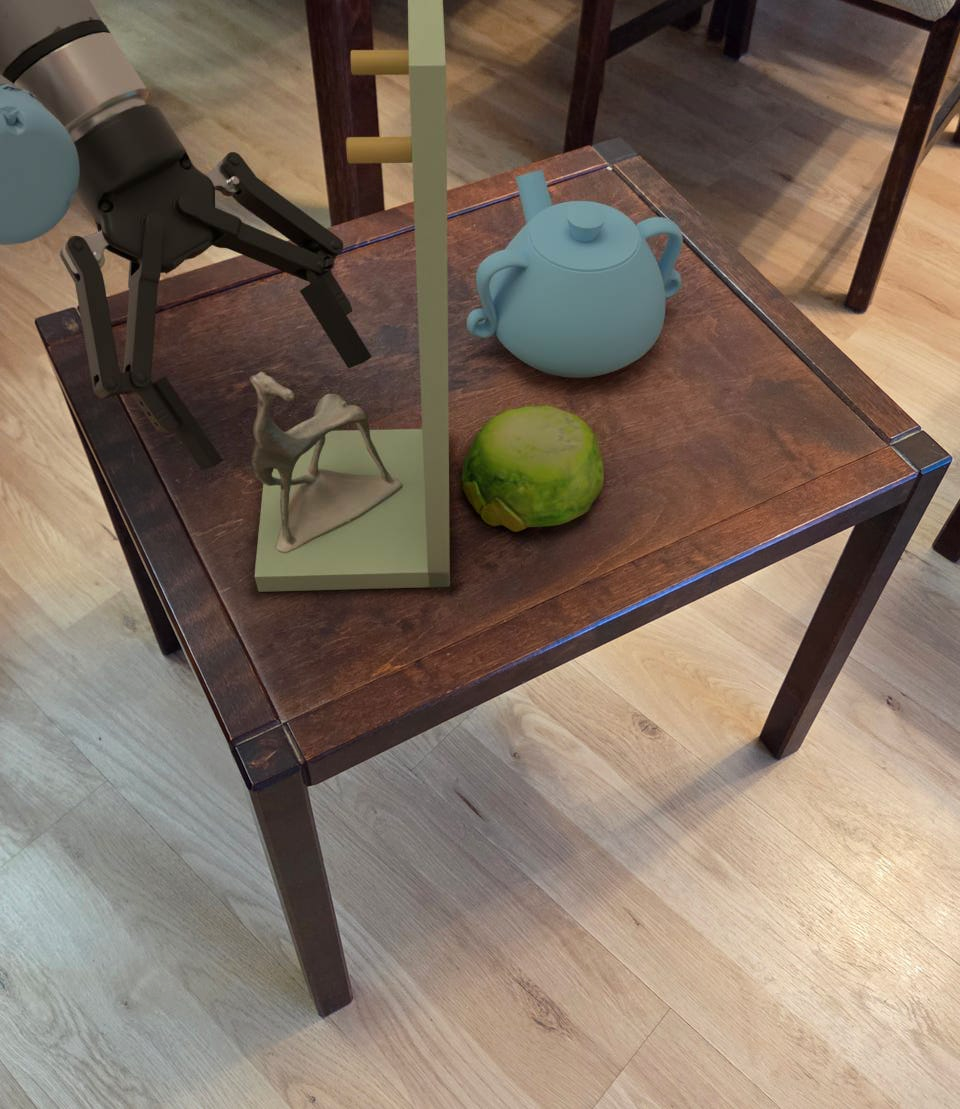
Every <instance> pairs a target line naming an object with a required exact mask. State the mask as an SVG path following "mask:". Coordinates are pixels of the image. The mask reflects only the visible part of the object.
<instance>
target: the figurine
mask: <svg viewBox="0 0 960 1109" xmlns="http://www.w3.org/2000/svg"><path fill="white" fill-rule="evenodd" d="M249 381H250V383H251V385H252V386H253V388H254V390H255V393H256V398H257V412H256V417H255V420H254V423H253V426H252V434H253V438H254V441H255V443H254V448H253V451H252V456H251V468H252V469H251V470H252V471H253V474H254V476H255V478H256V479H257V480H258V481H259V482H260V483H262V485H263V484H265V485H268V486H274V485H279V486H281V487H280V488H281V491H280V495H281V497H280V508H281V518H282V524H281V528H280V532H279V535H278V540H277V543H276V545H275V549H276V550H277V551H279V552H281V553H289V552H291V551H293V550H295V549H297V548H299V547H301V546H303V545H305V544H307V543H308V542H310V541H312V540H314V539H316V538H318V537H320V536H322V535H325V534H327V533H329V532H331V531H333V530H335V529H338V528H340V527H342V526H344V525H346V524H348V523H350V522H352V521H354V520H356V519H357V518H359V517H361V516H363V515H364V514H366V513H367V512H369V511H370V510H372V509H373V508H375V507H376V506H378V505H379V504H381V503H382V502H384V501H385V500H386V499H388V498H390V497H391V496H392V495H394V494H395V493H396V492H398V491H399V490H400V489H401V488H402V487H403V485H402V483H401V482H400V481H399V480H398V479H397V478H395V477H393V476H390V474H389V473H388V472H387V470H386V469H385V467H384V465H383V463H382V461H381V459H380V457H379V455H378V453H377V451H376V448H375V446H374V445H373V443H372V441H371V438H370V430H371V429H370V424H369V418H368V415H367V413H366V412H365V410H364V409H363V408H362V407H360V406H358V405H356V404H348V402H347V401H346V400H344V398H343V397H342V396H341V395H339V394H337V393H328V394H325V395H323V396H322V397H321V398H320V399H319V401H317V402H318V403H317V404H316V406H315V409H314V412H313V417H310V418H309V419H306V420H304V421H301V422H300V423H298V424H296V425H294V426H293V427H291V428H289V429H288V430H287V431H284V430H283V429H281V428H280V427H279V425H277V423H275V421H273V419H272V415H271V412H270V407H271V404H272V402H273V401H274V400H275V398H276V397H280V398H282V400H284V401H286V402H293V400H294V399H295V393H294V391H293V390H291V389H290V388H288V387H286V386H283V385H281V384H280V383H278V382H277V381H276V379H275V378H274V377H272V376H271V375H267V373H266V371H263V370H262V371H259V372H258V373H256V374H254V375H253V374H252V375H250V377H249ZM353 424H355V425H356V426H357V428H358V430H360V432H361V434H362V437H363V439H364V441H365V444H366V447H367V450H368V452H369V453H370V455H371V457H372V458H373V460H374V461H375V463H376V464H377V466H378V468H379V469H380V472H381V475H382V476H381V475H355V474H346V473H339V472H334V471H329V470H325V469H318V461H319V457H320V453H321V451H322V448H323V446H324V443H325V435H326V434H327V433H328V432H330V431H336V430H337V429H340V428H341V427H344V426H347V425H353ZM314 445H315V449H314V453H313V456H312V459H311V463H310V467H309V468H306V469H305V470H304V471H303V473H302V475H301V477H298V478H296V479H291V478H292V473H293V469H294V467H295V464H296V462H297V461H298V459H299V458H300V456H302V455H303V454H304V453H306V452H307V451H308V450H310V449H311V448H312V447H313V446H314ZM274 469H277V470H278V472H279V474H280V478H281V479H278V478H274V477H273V476H272V472H273V470H274ZM291 485H297V487H296V489H295V491H294V493H293V495H292V498H291V500H290V502H289V493H290V487H291Z"/></svg>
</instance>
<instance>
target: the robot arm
mask: <svg viewBox="0 0 960 1109" xmlns="http://www.w3.org/2000/svg"><path fill="white" fill-rule="evenodd" d="M149 93H150V91H149V89H148V88H147V87H146V85H145V83H144V81H143V80H142V78H141V77H140V76H139V74H138V73H137V71H136V70H135V68H134V66H133V64H132V63H131V62H130V59H129V58H128V57H127V55H126V54H125V52H124V50H123V49H122V47H121V46H120V44H119V43H118V41H117V39H115V36H114V35H113V34H112V32H111V31H110V29H109V28H108V27H107V25H106V24H105V22H103V20H102V18H101V16H100V15H99V13H98V11H97V10H96V8H95V6H94V5H93V3H92V2H91V0H0V245H2V246H9V245H10V246H11V245H12V246H13V245H19V244H24V243H28V242H31V241H34V240H36V239H38V238H40V237H42V236H43V235H45V234H47V233H48V232H50V231H51V230H52V229H54V228H55V227H56V226H57V225H58V224H59V223H60V222H61V220H63V218H64V217H65V216H66V214H67V213H68V211H69V210H70V207H71V205H72V202H73V201H74V200H75V196H76V197H77V199H78V200H79V201H80V203H81V204H82V206H83V207H84V208H85V210H86V211H87V212H88V214H89V215H90V216H91V217H92V219H93V221H94V222H95V225H96V229H97V231H96V232H94V233H90V234H88V235H86V236H83V237H82V236H81V235H72V236H71V237H69V239H68V240H67V241H66V242H65V244H63V246H62V248H61V250H60V252H59V256H60V259H61V261H62V263H63V265H64V266H65V268H66V270H67V272H68V273H69V275H70V277H71V279H72V281H73V283H74V286H75V292H76V298H77V303H78V309H79V315H80V321H81V327H82V332H83V337H84V342H85V350H86V355H87V360H88V367H89V372H90V378H91V384H92V389H93V393H94V394H95V396H96V397H98V398H100V399H109V398H111V397H117V396H121V395H127V396H130V397H131V398H133V400H134V401H135V402H136V403H137V405H138V406H139V407H140V409H141V410H142V412H143V413H144V414H145V416H146V417H147V419H148V420H149V422H150V423H151V425H152V426H153V428H154V429H155V430H156V431H157V432H159V433H160V434H161V435H163V436H164V435H167V434H169V433H171V432H174V433H175V434H176V436H177V437H178V439H179V441H181V443H182V444H183V446H184V447H185V449H186V451H188V453H189V454H190V456H191V457H192V459H193V460H194V462H195V463H196V464H197V466H198V468H200V470H201V471H204V470H208V469H211V468H215V467H216V466H217V465H219V464H220V463H222V462H224V460H223V458H222V457H221V455H220V453H219V452H218V451H217V449H216V448H215V446H214V445H213V443H212V442H211V440H210V438H209V437H208V436H207V434H206V433H205V432H204V430H203V429H202V427H201V426H200V425H199V423H198V422H197V420H196V419H195V417H194V416H193V414H192V413H191V411H190V410H189V409H188V406H186V404H185V403H184V401H183V400H182V399H181V397H180V395H179V394H178V393H177V391H176V390H175V388H174V387H173V385H172V384H171V383H170V381H169V380H168V378H167V376H163V377H162V376H161V378H159V379H157V380H156V381H152V370H153V358H154V342H155V327H156V316H157V314H156V313H157V302H158V300H157V299H158V287H159V283H160V281H161V280H160V279H161V275H162V274H165V275H167V274H169V273H170V272H172V271H174V270H177V268H178V267H180V266H181V265H182V263H184V262H185V261H187V260H192V259H195V258H196V257H199V256H200V255H202V254H203V253H205V252H206V251H207V250H208V249H210V248H211V247H212V246H213V247H215V248H218V249H227V250H230V251H232V252H235V253H237V254H240V255H242V256H245V257H247V258H249V259H251V260H254V261H257V262H259V263H262V264H264V265H266V266H269V267H272V268H274V269H276V270H278V271H282V272H283V273H285V274H289V275H291V276H293V277H296V278H297V279H301V280H303V281H306V282H308V283H309V284H308V285H306V286H304V287H303V288H301V289H300V290H299V292H300V294H301V295H302V297H303V299H304V300H305V302H306V304H307V306H308V307H309V309H310V310H311V311H312V313H313V315H314V317H315V318H316V319H317V321H318V323H319V324H320V326H321V327H322V329H323V331H324V332H325V334H326V336H327V337H328V339H329V340H330V342H331V344H332V345H333V347H334V348H335V350H336V352H337V353H338V355H339V357H340V358H341V359H342V361H343V363H344V364H345V365H346V367H347V369H352V368H353V367H356V366H359V365H361V364H364V363H366V362H367V361H369V360H370V359H371V358H372V357H373V356H372V355H371V353H370V351H369V349H367V346H366V345H365V343H364V341H363V340H362V338H361V336H360V335H359V334H358V332H357V330H356V329H355V327H354V325H353V324H352V322H351V321H350V319H349V317H348V315H349V314H351V313H352V312H353V308H352V303H351V302H350V300H349V299H348V297H347V296H346V294H345V292H344V290H343V289H342V287H341V286H340V284H339V283H338V281H337V279H336V278H335V276H334V274H333V271H332V270H334V267H335V260H336V258H337V257H338V256H339V254H341V253H342V252H343V250H344V242H343V241H342V239H341V238H339V236H337V235H336V234H334V233H333V232H332V231H330V230H329V229H327V228H326V227H325V226H323V225H322V224H321V223H319V222H318V221H317V220H316V219H314V218H313V217H311V216H310V215H308V214H307V213H306V212H305V211H303V210H302V209H301V208H299V207H298V206H297V205H295V204H294V203H292V202H291V201H290V200H288V199H287V198H286V197H284V196H283V195H281V194H280V193H279V192H277V191H276V190H275V189H273V188H272V187H271V186H269V185H268V184H266V183H265V182H264V181H262V180H261V179H260V178H258V177H257V176H256V174H255V173H254V171H253V170H252V169H251V167H250V166H249V165H248V164H247V162H246V161H245V159H244V158H243V157H242V155H240V154H239V153H238V152H236V151H230V152H228V153H227V154H226V155H225V156H224V157H223V158H222V159H221V160H220V161H219V162H218V163H217V164H216V165H215V166H214V167H213V168H212V169H210V170H208V172H206V173H203V172H202V171H201V170H199V169H198V168H197V166H195V165H194V164H193V162H192V160H191V158H190V156H189V154H188V152H187V149H186V148H185V146H184V145H183V143H182V141H181V140H180V138H179V136H177V134H176V132H175V130H174V129H173V127H172V125H171V124H170V123H169V121H168V120H167V117H165V115H164V113H163V111H162V110H161V108H160V107H159V106H155V105H154V104H151V103H146V102H147V100H148V99H149V98H148V97H149ZM216 191H218V192H219V193H221V194H222V195H223V196H226V197H232V198H233V199H234V200H235V201H236V202H237V203H238V204H239V205H241V206H242V207H243V208H245V209H246V211H247V210H248V212H250V213H251V214H253V215H254V216H256V217H257V218H258V219H260V220H261V221H262V222H264V223H266V224H267V226H269V227H271V228H272V229H274V230H275V231H277V232H278V233H279V234H281V235H282V236H284V237H285V238H286V239H287V240H289V241H287V240H285V239H283V238H281V237H278V236H276V235H273V234H271V233H270V232H269V233H268V232H266V231H264V230H261V229H259V228H258V227H255V226H253V225H249V224H247V223H245V222H243V221H242V220H241V218H240V217H238V216H236V215H234V214H231V213H229V212H227V211H224V210H223V209H220V208H218V207H216ZM290 241H291V242H290ZM105 250H106V251H107V252H110V253H112V254H114V255H116V256H118V257H120V258H123V259H125V260H127V261H129V264H128V266H129V269H128V280H127V288H128V303H127V316H126V331H125V344H124V357H123V369H122V370H123V371H122V372H121V370H120V366H119V360H118V354H117V347H116V343H115V337H114V330H113V326H112V319H111V314H110V308H109V301H108V297H107V290H106V285H105V280H104V276H103V271H102V268H103V266H104V265H105V262H106V258H105V254H104V252H105Z"/></svg>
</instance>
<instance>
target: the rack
mask: <svg viewBox="0 0 960 1109" xmlns="http://www.w3.org/2000/svg"><path fill="white" fill-rule="evenodd" d="M407 31H408V32H407V33H408V34H407V36H408V38H407V40H408V45H407V46H408V49H352V50H351V51H350V69H351V70H350V71H351V74H352V76H402V75H404V76H405V75H406V76H408V83H409V86H408V87H409V107H410V108H409V109H410V110H409V111H410V112H409V113H410V135H411V136H351V137H350V136H347V138H346V142H345V144H346V146H345V148H346V160H347V163H348V164H411V163H412V164H411V165H412V190H413V191H412V192H413V216H414V219H413V221H414V243H415V244H414V246H415V273H416V274H415V275H416V298H417V299H416V300H417V326H418V328H417V329H418V352H419V353H418V354H419V378H420V379H419V380H420V382H419V383H420V405H421V407H420V408H421V428H397V429H396V428H395V429H393V428H392V429H369V430H370V438H371V441H372V443H373V445H374V446H375V448H376V451H377V453H378V455H379V457H380V459H381V461H382V463H383V465H384V467H385V469H386V470H387V472H388V473H389V474H390V476H393V477H395V478H397V479H398V480H399V481H400V482H401V483H402V485H403V487H402V488H401V489H400V490H399V491H398V492H396V493H395V494H394V495H392V496H391V497H390V498H388V499H386V500H385V501H384V502H382V503H381V504H379V505H378V506H376V507H375V508H373V509H372V510H370V511H369V512H367V513H366V514H364V515H363V516H361V517H359V518H357V519H356V520H354V521H352V522H350V523H348V524H346V525H344V526H342V527H340V528H338V529H335V530H333V531H331V532H329V533H327V534H325V535H322V536H320V537H318V538H316V539H314V540H312V541H310V542H308V543H307V544H305V545H303V546H301V547H299V548H297V549H295V550H293V551H291V552H289V553H281V552H279V551H277V550H276V549H275V545H276V543H277V540H278V535H279V532H280V528H281V524H282V518H281V508H280V497H281V495H280V491H281V488H280V487H281V486H279V485H274V486H268V485H265V484H263V483H262V494H261V505H260V513H259V514H260V515H259V526H258V536H257V547H256V557H255V565H254V566H255V568H254V579H255V584H256V588H257V591H258V592H259V593H265V592H266V593H267V592H268V593H271V592H304V591H336V590H337V591H338V590H339V591H343V590H375V589H376V590H377V589H379V590H380V589H381V590H382V589H412V588H414V589H415V588H449V587H451V586H450V585H451V572H450V569H451V568H450V564H451V563H450V562H451V559H450V557H451V555H450V552H451V551H450V548H451V547H450V438H449V437H450V434H449V433H450V431H449V428H450V427H449V426H450V425H449V423H450V420H449V414H450V413H449V412H450V411H449V410H450V409H449V305H448V304H449V303H448V302H449V299H448V298H449V294H448V293H449V292H448V290H449V286H448V285H449V284H448V279H449V277H448V169H447V168H448V158H447V156H448V155H447V154H448V152H447V150H448V149H447V143H448V142H447V137H448V136H447V59H446V57H447V56H446V39H445V37H446V36H445V18H444V0H407ZM314 449H315V445H314V446H313V447H312V448H311V449H310V450H308V451H307V452H306V453H304V454H303V455H302V456H300V458H299V459H298V461H297V462H296V464H295V467H294V469H293V473H292V478H291V479H296V478H298V477H301V475H302V473H303V471H304V470H305V469H306V468H309V467H310V463H311V459H312V456H313V453H314ZM318 469H325V470H329V471H334V472H339V473H346V474H355V475H381V472H380V469H379V468H378V466H377V464H376V463H375V461H374V460H373V458H372V457H371V455H370V453H369V452H368V450H367V447H366V444H365V441H364V439H363V437H362V434H361V432H360V429H353V430H352V429H351V430H350V429H349V430H348V429H347V430H346V429H345V430H332V431H330V432H328V433H327V434H326V435H325V443H324V446H323V448H322V451H321V453H320V457H319V461H318ZM272 476H273V477H274V478H278V479H281V478H280V474H279V472H278V470H277V469H274V470H273V472H272ZM381 476H382V475H381ZM296 487H297V485H291V487H290V493H289V502H290V500H291V498H292V495H293V493H294V491H295V489H296Z"/></svg>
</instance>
